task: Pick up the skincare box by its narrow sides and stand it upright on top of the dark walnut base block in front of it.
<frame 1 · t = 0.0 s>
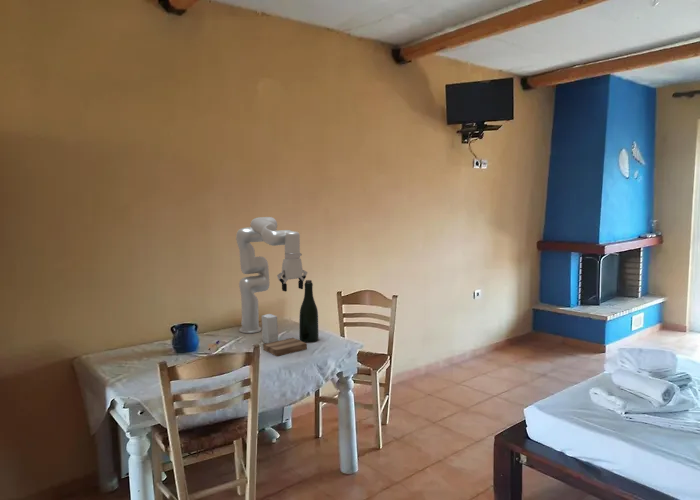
hand: (292, 289, 261), 31 cm above the table, tool pointing down, fingers open, 9 cm apart
skincare box: (270, 343, 277), on the table
walnut base: (285, 349, 266), on the table
green wine bottle: (308, 340, 282), on the table
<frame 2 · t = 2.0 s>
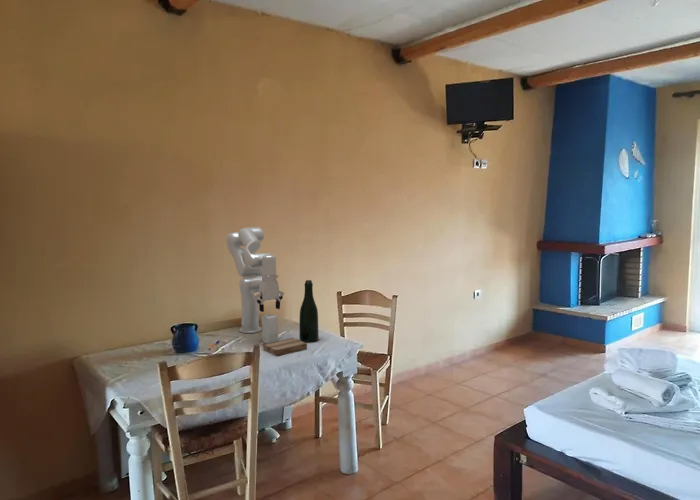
hand: (269, 310, 275), 18 cm above the table, tool pointing down, fingers open, 9 cm apart
nothing on the table moved.
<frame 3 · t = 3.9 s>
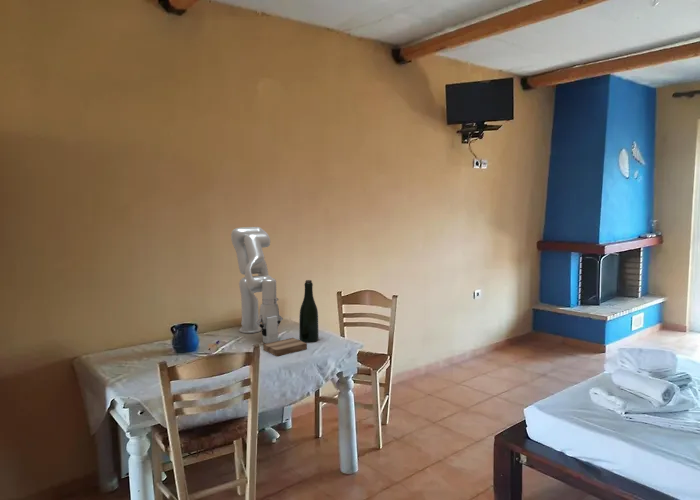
hand: (269, 334, 277), 5 cm above the table, tool pointing down, fingers closed on skincare box, 6 cm apart
skincare box: (270, 343, 277), on the table, touching gripper
everything else where it was.
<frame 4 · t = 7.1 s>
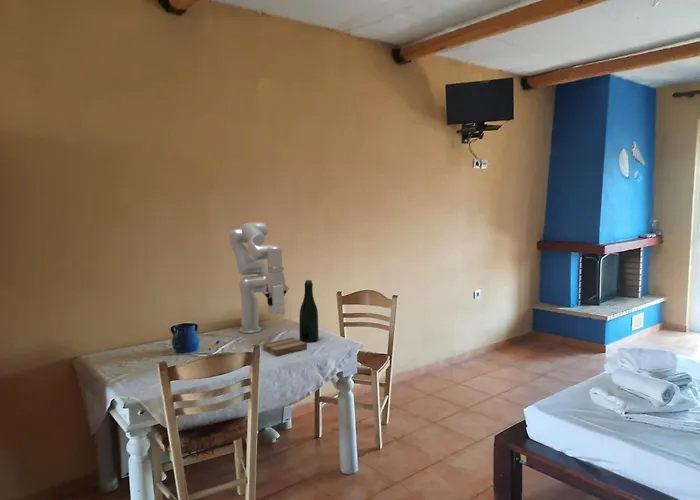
hand: (275, 304, 269), 22 cm above the table, tool pointing down, fingers closed on skincare box, 6 cm apart
skincare box: (276, 313, 270), point 17 cm above the table, touching gripper
everything else where it was.
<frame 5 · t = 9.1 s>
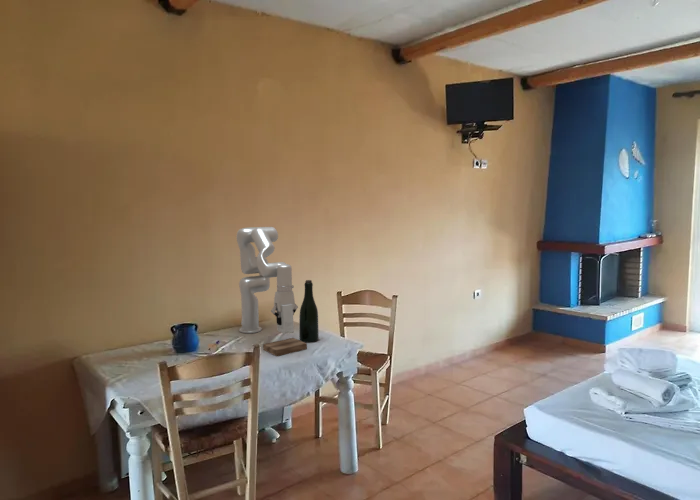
hand: (284, 323, 264), 14 cm above the table, tool pointing down, fingers closed on skincare box, 6 cm apart
skincare box: (285, 332, 264), point 9 cm above the table, touching gripper
everything else where it was.
when the fingers open (9 cm above the table, at t = 10.5 s): skincare box drops 1 cm, resting on walnut base.
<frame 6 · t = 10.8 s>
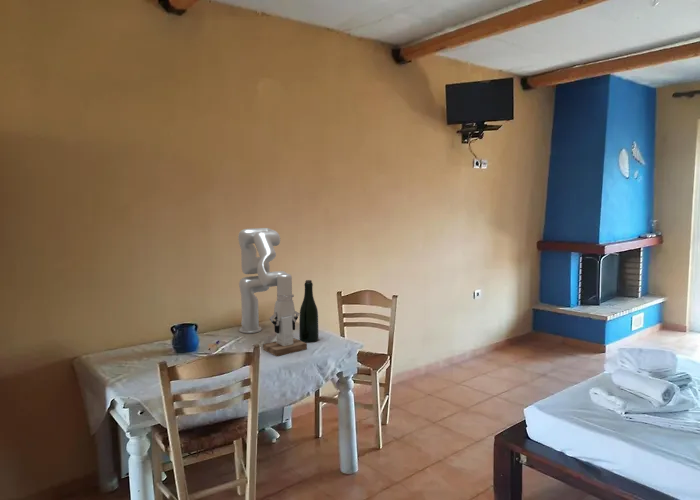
hand: (284, 331, 264), 10 cm above the table, tool pointing down, fingers open, 9 cm apart
skincare box: (284, 344, 265), point 3 cm above the table, touching walnut base
everything else where it was.
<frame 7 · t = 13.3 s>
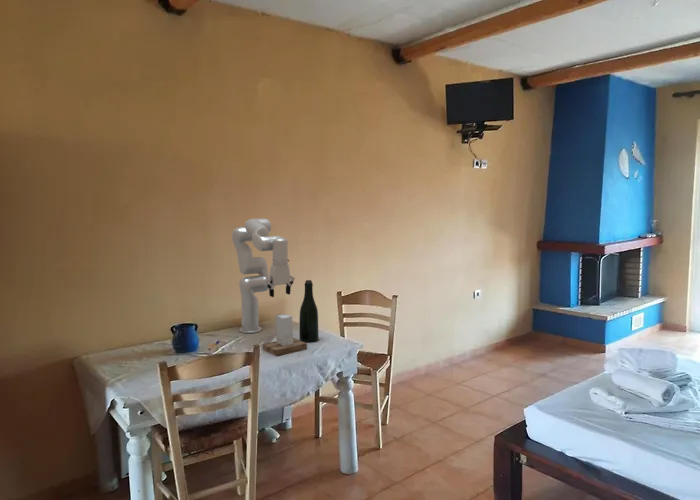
hand: (280, 295, 266), 28 cm above the table, tool pointing down, fingers open, 9 cm apart
nothing on the table moved.
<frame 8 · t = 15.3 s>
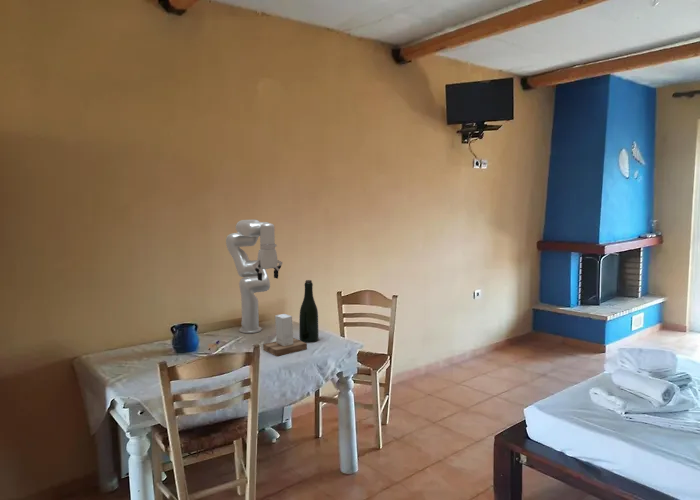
hand: (268, 279, 274), 34 cm above the table, tool pointing down, fingers open, 9 cm apart
nothing on the table moved.
at the end: skincare box inside the target area on the walnut base (0.4 cm from its centre), point 2.8 cm above the walnut base's base; skincare box tilted 0°; the gripper is holding nothing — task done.
